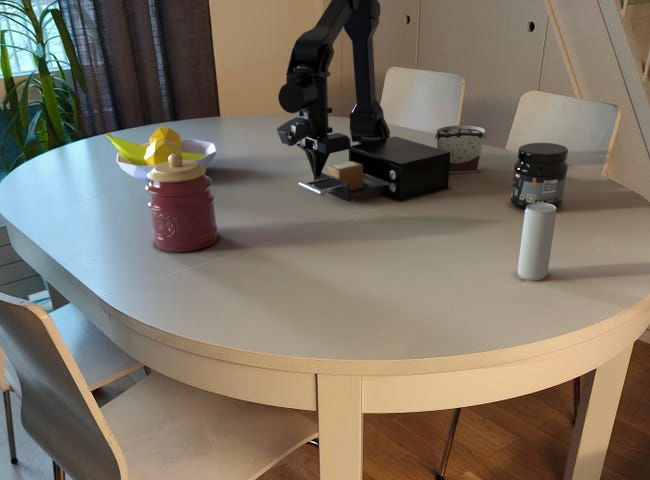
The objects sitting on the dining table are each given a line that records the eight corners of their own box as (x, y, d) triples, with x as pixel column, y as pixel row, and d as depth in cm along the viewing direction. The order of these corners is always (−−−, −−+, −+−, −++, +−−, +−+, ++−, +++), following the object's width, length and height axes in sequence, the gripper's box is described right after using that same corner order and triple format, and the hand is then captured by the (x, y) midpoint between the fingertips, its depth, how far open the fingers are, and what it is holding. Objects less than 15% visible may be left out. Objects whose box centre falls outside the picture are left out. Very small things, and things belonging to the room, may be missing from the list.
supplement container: (525, 194, 151) (532, 139, 145) (571, 203, 145) (580, 146, 139) (500, 207, 145) (506, 150, 139) (546, 217, 139) (555, 158, 132)
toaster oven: (346, 181, 167) (345, 146, 163) (394, 170, 173) (395, 136, 169) (397, 202, 152) (398, 164, 148) (448, 188, 158) (450, 152, 154)
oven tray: (293, 191, 159) (292, 174, 157) (357, 176, 166) (357, 159, 164) (326, 207, 148) (326, 189, 146) (393, 190, 156) (394, 172, 154)
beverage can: (512, 271, 118) (520, 203, 112) (540, 268, 118) (549, 201, 112) (523, 282, 114) (532, 213, 108) (551, 280, 114) (562, 210, 108)
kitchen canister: (191, 257, 132) (178, 166, 122) (141, 247, 138) (125, 159, 129) (231, 234, 141) (222, 148, 132) (182, 226, 147) (170, 142, 138)
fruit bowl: (236, 163, 187) (232, 120, 181) (183, 193, 166) (177, 146, 161) (152, 157, 198) (145, 116, 192) (92, 185, 177) (83, 140, 171)
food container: (480, 164, 173) (483, 123, 168) (483, 171, 167) (487, 129, 162) (430, 166, 174) (432, 125, 169) (432, 173, 169) (434, 131, 164)
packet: (329, 188, 158) (328, 165, 155) (352, 183, 160) (351, 160, 158) (339, 193, 154) (339, 169, 152) (363, 187, 157) (363, 164, 154)
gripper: (259, 102, 148) (265, 174, 156) (304, 116, 134) (308, 194, 142) (303, 95, 152) (306, 165, 160) (351, 107, 138) (352, 183, 146)
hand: (316, 176), depth 152 cm, fingers closed
